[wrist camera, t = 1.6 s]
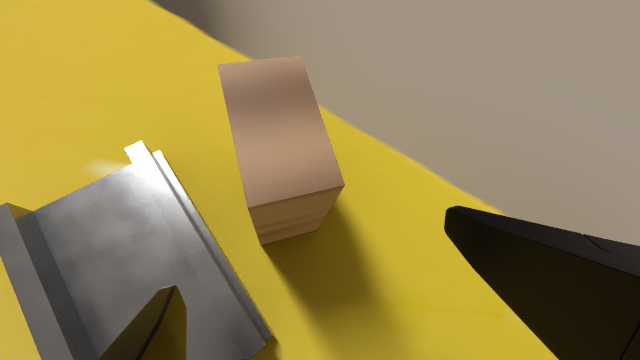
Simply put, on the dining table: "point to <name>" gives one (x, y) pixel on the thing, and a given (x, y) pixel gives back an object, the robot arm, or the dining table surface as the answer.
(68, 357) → the door track
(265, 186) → the brown wooden block
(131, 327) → the robot arm
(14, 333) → the dining table surface
